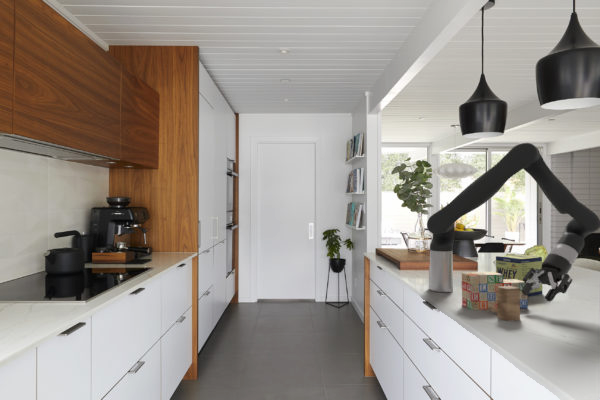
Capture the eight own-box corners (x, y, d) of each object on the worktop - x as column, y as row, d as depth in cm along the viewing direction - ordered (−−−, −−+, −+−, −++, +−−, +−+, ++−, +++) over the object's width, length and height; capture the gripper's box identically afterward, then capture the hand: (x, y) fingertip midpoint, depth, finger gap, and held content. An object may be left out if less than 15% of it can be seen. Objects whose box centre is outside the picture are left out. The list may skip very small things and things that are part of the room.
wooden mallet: (483, 312, 130) (483, 283, 130) (494, 311, 132) (494, 282, 132) (507, 321, 120) (507, 289, 121) (520, 319, 122) (519, 288, 122)
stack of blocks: (516, 304, 142) (515, 270, 143) (528, 308, 136) (527, 273, 136) (461, 305, 140) (461, 271, 140) (471, 310, 134) (470, 274, 134)
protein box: (495, 293, 160) (495, 256, 160) (518, 289, 167) (518, 253, 167) (519, 298, 150) (519, 258, 151) (543, 294, 158) (542, 256, 158)
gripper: (535, 250, 137) (511, 285, 133) (575, 255, 123) (549, 294, 120) (546, 264, 139) (522, 299, 135) (587, 270, 125) (561, 309, 121)
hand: (535, 296), depth 127 cm, fingers open, 8 cm apart
